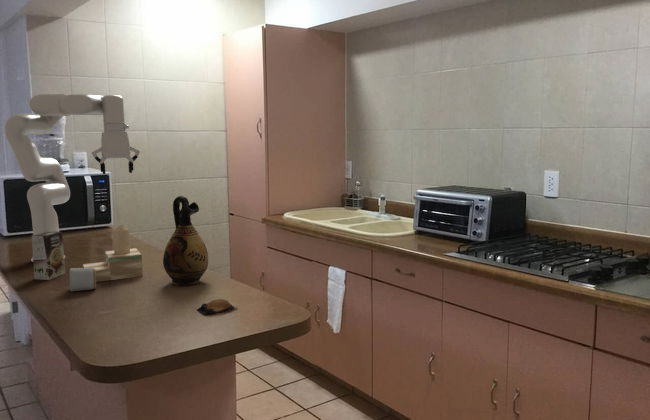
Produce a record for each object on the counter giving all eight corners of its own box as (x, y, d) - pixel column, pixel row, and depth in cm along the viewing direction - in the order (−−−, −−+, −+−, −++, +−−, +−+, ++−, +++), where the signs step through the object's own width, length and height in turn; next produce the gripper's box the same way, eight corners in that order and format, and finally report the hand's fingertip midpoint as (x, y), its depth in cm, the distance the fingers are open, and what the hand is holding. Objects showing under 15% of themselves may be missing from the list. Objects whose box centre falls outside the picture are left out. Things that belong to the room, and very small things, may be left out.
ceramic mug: (97, 291, 189) (95, 268, 188) (70, 294, 186) (68, 271, 185) (96, 283, 199) (95, 262, 198) (71, 286, 196) (69, 264, 195)
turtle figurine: (226, 304, 175) (226, 293, 175) (239, 311, 168) (239, 299, 168) (194, 311, 169) (193, 299, 168) (206, 318, 162) (205, 306, 162)
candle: (116, 251, 212) (114, 225, 211) (131, 250, 213) (130, 224, 211) (112, 254, 207) (110, 227, 205) (128, 254, 207) (126, 227, 206)
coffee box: (49, 280, 204) (46, 235, 201) (34, 279, 205) (30, 235, 202) (66, 273, 212) (62, 231, 210) (51, 273, 214) (47, 230, 211)
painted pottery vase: (218, 281, 199) (215, 196, 195) (180, 291, 188) (175, 201, 184) (190, 273, 211) (186, 192, 206) (153, 282, 200) (148, 197, 195)
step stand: (83, 274, 211) (82, 253, 210) (137, 268, 219) (135, 248, 218) (86, 283, 199) (84, 260, 198) (142, 276, 207) (141, 254, 206)
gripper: (136, 128, 223) (139, 171, 226) (89, 128, 216) (92, 173, 218) (139, 128, 217) (142, 173, 219) (90, 128, 209) (94, 175, 212)
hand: (117, 173), depth 219 cm, fingers open, 9 cm apart
